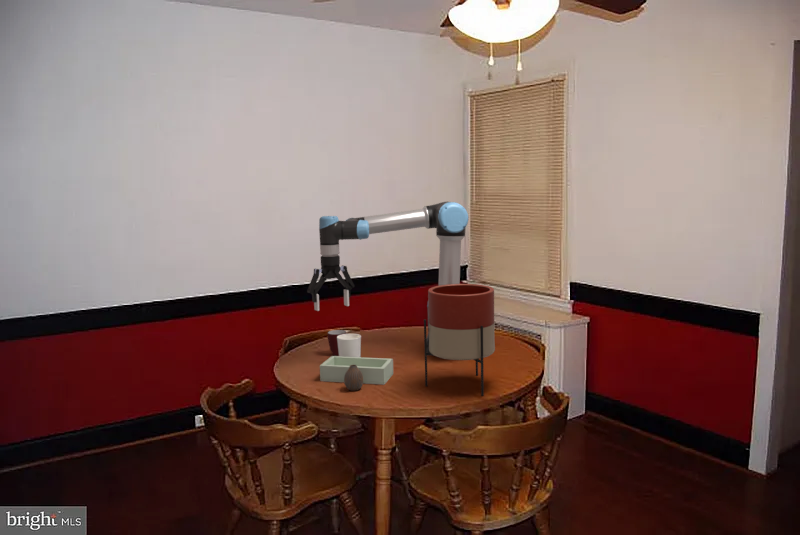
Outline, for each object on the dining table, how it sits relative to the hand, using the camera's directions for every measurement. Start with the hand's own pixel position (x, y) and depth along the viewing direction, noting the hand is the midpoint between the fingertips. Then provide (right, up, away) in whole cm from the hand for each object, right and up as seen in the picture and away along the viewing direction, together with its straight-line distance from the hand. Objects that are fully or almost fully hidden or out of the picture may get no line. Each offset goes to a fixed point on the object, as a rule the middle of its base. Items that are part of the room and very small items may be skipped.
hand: (332, 308), depth 253 cm
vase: (+11, -28, -25) cm, 39 cm away
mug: (+2, -22, +21) cm, 30 cm away
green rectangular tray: (+11, -26, -11) cm, 30 cm away
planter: (+49, -27, -24) cm, 61 cm away
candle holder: (+7, -24, +5) cm, 25 cm away
